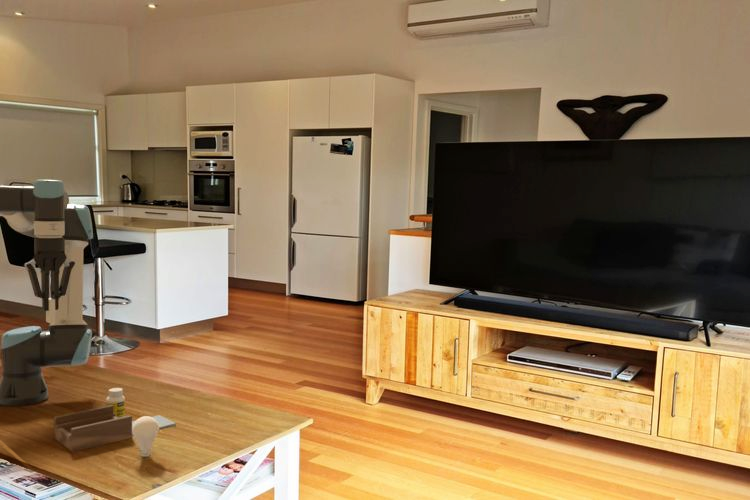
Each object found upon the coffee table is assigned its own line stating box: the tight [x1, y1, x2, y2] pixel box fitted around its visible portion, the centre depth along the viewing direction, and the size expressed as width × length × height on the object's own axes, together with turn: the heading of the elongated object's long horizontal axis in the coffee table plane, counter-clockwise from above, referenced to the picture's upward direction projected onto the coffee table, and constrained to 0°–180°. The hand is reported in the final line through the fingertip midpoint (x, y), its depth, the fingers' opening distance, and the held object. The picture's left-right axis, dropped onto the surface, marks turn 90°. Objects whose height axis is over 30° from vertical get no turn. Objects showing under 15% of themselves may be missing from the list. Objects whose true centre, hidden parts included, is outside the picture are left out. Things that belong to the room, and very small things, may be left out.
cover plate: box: [132, 414, 177, 437], centre depth 198 cm, size 10×14×2 cm
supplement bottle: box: [105, 387, 126, 418], centre depth 203 cm, size 5×5×10 cm
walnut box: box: [53, 405, 133, 453], centre depth 187 cm, size 13×16×7 cm
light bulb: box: [132, 415, 160, 459], centre depth 177 cm, size 7×7×11 cm
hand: (50, 322), depth 187 cm, fingers closed
